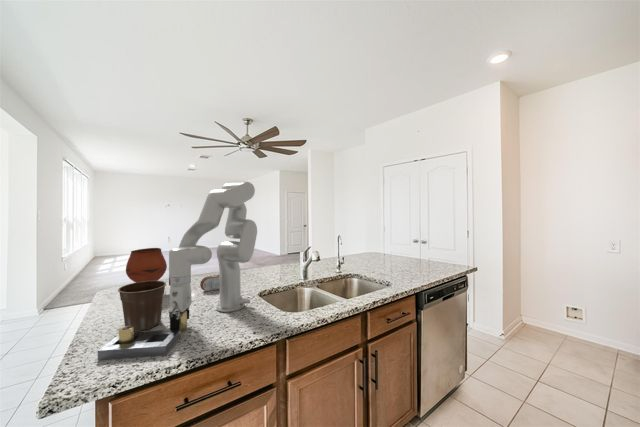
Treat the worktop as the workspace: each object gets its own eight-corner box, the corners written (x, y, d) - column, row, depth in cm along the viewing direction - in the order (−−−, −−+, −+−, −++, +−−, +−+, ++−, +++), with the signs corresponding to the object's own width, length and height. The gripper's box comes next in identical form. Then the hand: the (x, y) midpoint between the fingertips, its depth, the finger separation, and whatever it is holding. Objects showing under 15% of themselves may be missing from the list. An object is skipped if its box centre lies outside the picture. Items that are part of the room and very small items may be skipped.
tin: (226, 286, 160) (226, 273, 160) (228, 288, 158) (228, 274, 158) (200, 292, 151) (199, 277, 151) (201, 293, 148) (201, 278, 148)
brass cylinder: (188, 327, 105) (188, 309, 105) (184, 332, 101) (184, 313, 101) (178, 328, 105) (177, 310, 104) (173, 333, 101) (173, 314, 100)
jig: (180, 337, 97) (180, 318, 97) (165, 355, 85) (165, 333, 85) (121, 341, 95) (121, 321, 94) (97, 360, 83) (97, 337, 83)
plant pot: (171, 325, 107) (170, 285, 107) (122, 339, 96) (121, 295, 96) (161, 314, 119) (160, 278, 119) (116, 325, 108) (115, 285, 108)
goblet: (160, 287, 160) (159, 246, 160) (172, 293, 148) (171, 249, 147) (121, 295, 146) (120, 250, 145) (131, 303, 133) (130, 253, 133)
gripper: (181, 285, 94) (181, 333, 94) (197, 274, 111) (197, 315, 111) (159, 286, 93) (159, 335, 93) (178, 275, 110) (178, 316, 110)
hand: (180, 324), depth 102 cm, fingers open, 9 cm apart
